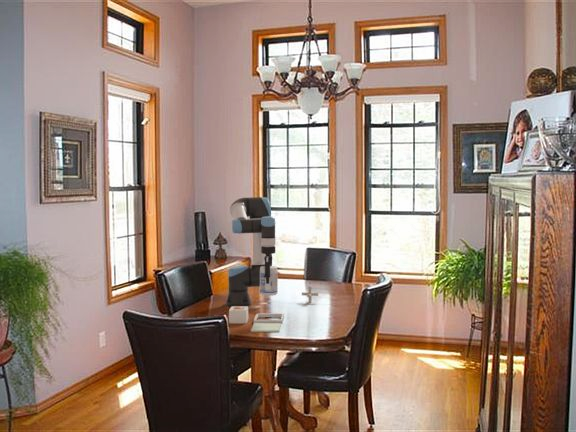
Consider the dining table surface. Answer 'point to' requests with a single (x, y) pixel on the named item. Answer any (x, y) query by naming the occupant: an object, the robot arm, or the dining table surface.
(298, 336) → the dining table surface
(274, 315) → the frame
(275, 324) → the mat
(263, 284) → the supplement tub
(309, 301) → the pipe connector
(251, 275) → the robot arm
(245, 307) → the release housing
